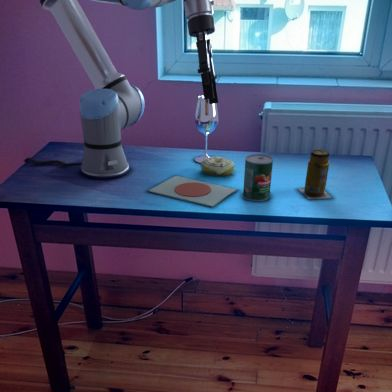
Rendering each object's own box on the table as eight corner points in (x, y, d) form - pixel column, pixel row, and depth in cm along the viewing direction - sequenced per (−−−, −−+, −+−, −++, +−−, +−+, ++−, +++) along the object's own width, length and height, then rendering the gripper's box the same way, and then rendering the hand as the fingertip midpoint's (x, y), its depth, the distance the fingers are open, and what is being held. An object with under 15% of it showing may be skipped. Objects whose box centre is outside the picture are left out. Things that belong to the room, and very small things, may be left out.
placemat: (148, 191, 159) (148, 189, 159) (175, 176, 169) (175, 174, 169) (212, 207, 150) (212, 205, 150) (236, 190, 161) (236, 188, 160)
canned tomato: (263, 203, 153) (267, 164, 146) (238, 198, 156) (240, 160, 149) (273, 194, 158) (277, 156, 152) (248, 189, 161) (251, 152, 155)
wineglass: (203, 165, 178) (204, 101, 166) (189, 159, 183) (189, 96, 171) (221, 161, 182) (224, 97, 170) (207, 155, 187) (209, 93, 174)
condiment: (321, 188, 163) (327, 147, 155) (331, 198, 156) (338, 157, 149) (298, 189, 162) (303, 149, 154) (308, 200, 155) (313, 158, 148)
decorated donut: (222, 180, 168) (222, 168, 165) (194, 173, 172) (194, 161, 170) (239, 170, 174) (240, 159, 172) (212, 164, 179) (212, 152, 177)
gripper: (209, 2, 134) (221, 94, 141) (217, 25, 158) (227, 102, 164) (180, 8, 136) (193, 99, 142) (192, 30, 159) (203, 107, 166)
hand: (211, 101), depth 153 cm, fingers open, 13 cm apart
